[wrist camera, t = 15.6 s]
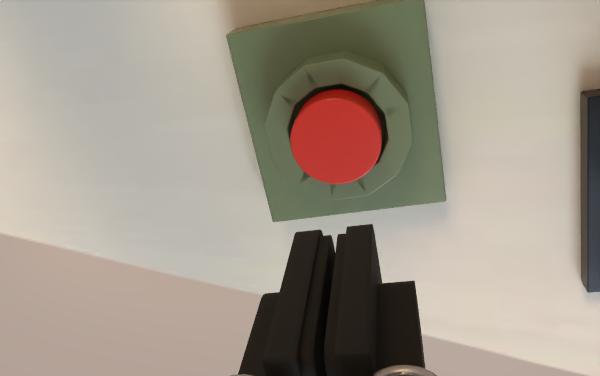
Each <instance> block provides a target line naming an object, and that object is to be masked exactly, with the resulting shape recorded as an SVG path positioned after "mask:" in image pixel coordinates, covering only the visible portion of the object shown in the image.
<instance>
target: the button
mask: <svg viewBox="0 0 600 376" xmlns="http://www.w3.org/2000/svg"><path fill="white" fill-rule="evenodd" d="M290 144H291V150H292V153H293V156H294V158H295V160H296V162H297V163H298V165H299V166H300V167H301V169H302V170H303V171H305V172H306V173H307V174H308V175H309V176H311V177H313V178H314V179H316V180H319V181H321V182H325V183H329V184H344V183H349V182H352V181H355V180H357V179H359V178H361V177H363V176H364V175H365V174H367V173H368V172H369V171H370V170H371V169H372V168H373V166H374V165H375V163H376V162H377V160H378V158H379V155H380V152H381V146H382V127H381V121H380V118H379V115H378V113H377V111H376V110H375V108H374V107H373V106H372V104H371V103H370V102H369V101H368V100H366V99H365V98H364V97H362V96H361V95H359V94H357V93H355V92H352V91H348V90H343V89H333V90H327V91H323V92H321V93H318V94H316V95H315V96H313V97H312V98H310V99H309V100H308V101H307V102H306V103H305V104H304V105H303V107H302V108H301V110H300V111H299V113H298V115H297V118H296V120H295V122H294V124H293V127H292V130H291V136H290Z"/></svg>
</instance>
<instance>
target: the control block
mask: <svg viewBox="0 0 600 376" xmlns="http://www.w3.org/2000/svg"><path fill="white" fill-rule="evenodd" d="M226 37H227V41H228V45H229V49H230V53H231V57H232V61H233V65H234V69H235V73H236V77H237V81H238V85H239V89H240V93H241V97H242V101H243V105H244V108H245V112H246V116H247V120H248V124H249V128H250V132H251V136H252V140H253V144H254V148H255V152H256V156H257V160H258V164H259V168H260V172H261V176H262V180H263V184H264V188H265V192H266V196H267V200H268V204H269V208H270V212H271V216H272V220H273V222H278V221H286V220H294V219H303V218H311V217H319V216H328V215H336V214H344V213H353V212H361V211H369V210H378V209H386V208H394V207H403V206H411V205H419V204H428V203H436V202H444V201H446V194H445V185H444V176H443V167H442V158H441V149H440V140H439V130H438V121H437V112H436V103H435V94H434V85H433V76H432V67H431V58H430V49H429V40H428V31H427V22H426V13H425V4H424V0H379V1H373V2H368V3H363V4H358V5H353V6H348V7H343V8H338V9H333V10H328V11H323V12H318V13H312V14H307V15H302V16H297V17H292V18H287V19H282V20H277V21H272V22H267V23H262V24H257V25H252V26H246V27H241V28H236V29H235V30H233V31H232V32H230V33H229V34H227V35H226ZM333 89H343V90H348V91H352V92H355V93H357V94H359V95H361V96H362V97H364V98H365V99H366V100H368V101H369V102H370V103H371V104H372V106H373V107H374V108H375V110H376V111H377V113H378V115H379V118H380V121H381V127H382V146H381V152H380V155H379V158H378V160H377V162H376V163H375V165H374V166H373V168H372V169H371V170H370V171H369V172H368V173H367V174H365V175H364V176H363V177H361V178H359V179H357V180H355V181H352V182H349V183H344V184H329V183H325V182H321V181H319V180H316V179H314V178H313V177H311V176H309V175H308V174H307V173H306V172H305V171H303V170H302V169H301V167H300V166H299V165H298V163H297V162H296V160H295V158H294V156H293V153H292V150H291V144H290V136H291V130H292V127H293V124H294V122H295V120H296V118H297V115H298V113H299V111H300V110H301V108H302V107H303V105H304V104H305V103H306V102H307V101H308V100H309V99H310V98H312V97H313V96H315V95H316V94H318V93H321V92H323V91H327V90H333Z"/></svg>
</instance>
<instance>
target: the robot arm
mask: <svg viewBox="0 0 600 376" xmlns="http://www.w3.org/2000/svg"><path fill="white" fill-rule="evenodd" d="M232 376H437V375H435V374H434V373H433V372H431V371H429V370H426V369H425V362H424V353H423V345H422V336H421V327H420V319H419V311H418V303H417V296H416V288H415V281H406V282H394V283H383V284H382V279H381V273H380V266H379V260H378V253H377V247H376V241H375V234H374V229H373V225H372V224H369V225H360V226H351V227H347V230H346V234H338V237H337V245H336V253H335V250H334V244H333V240H332V236H331V235H328V236H323V234H322V231H321V230H313V231H304V232H296V233H295V236H294V239H293V243H292V247H291V251H290V255H289V258H288V262H287V266H286V270H285V274H284V278H283V281H282V285H281V289H280V292H278V293H267V294H264V295H263V296H262V298H261V301H260V304H259V308H258V312H257V314H256V318H255V321H254V324H253V327H252V331H251V334H250V337H249V341H248V344H247V347H246V350H245V353H244V357H243V360H242V363H241V367H240V370H239V373H238V375H232Z"/></svg>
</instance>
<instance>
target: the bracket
mask: <svg viewBox="0 0 600 376" xmlns="http://www.w3.org/2000/svg"><path fill="white" fill-rule="evenodd" d="M581 268H582V283H583V285H584V286H585V288H586V290H587V292H600V89H596V90H590V91H583V92H581Z"/></svg>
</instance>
